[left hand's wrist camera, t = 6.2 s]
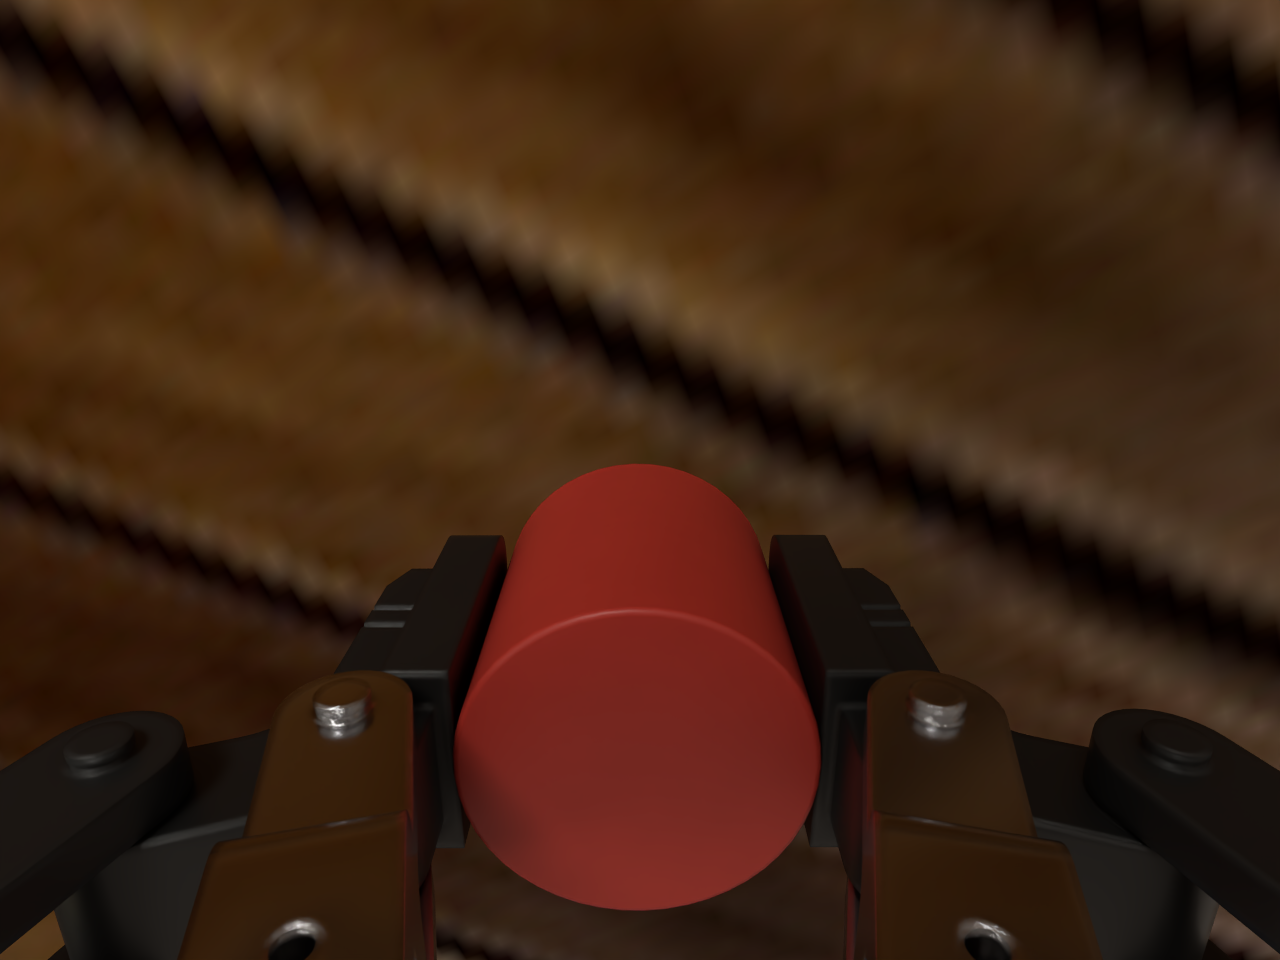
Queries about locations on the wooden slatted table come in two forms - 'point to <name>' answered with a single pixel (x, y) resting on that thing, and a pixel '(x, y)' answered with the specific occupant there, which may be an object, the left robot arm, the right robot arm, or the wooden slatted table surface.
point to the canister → (637, 699)
